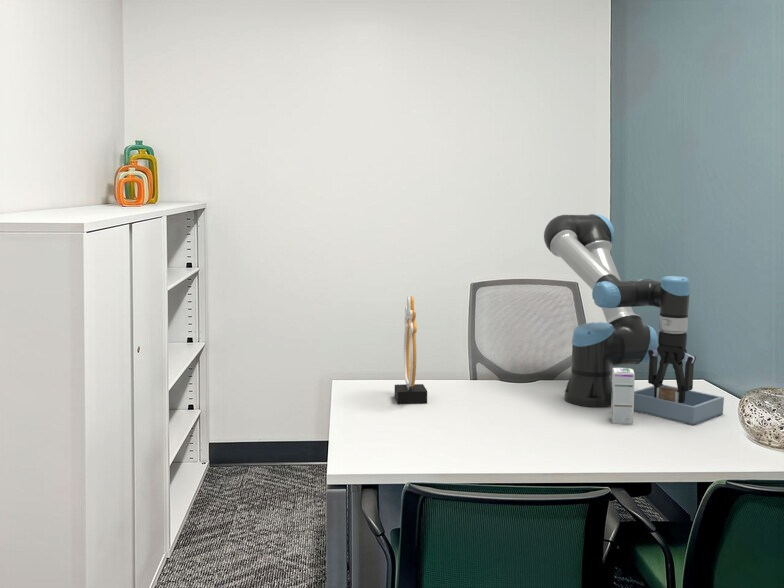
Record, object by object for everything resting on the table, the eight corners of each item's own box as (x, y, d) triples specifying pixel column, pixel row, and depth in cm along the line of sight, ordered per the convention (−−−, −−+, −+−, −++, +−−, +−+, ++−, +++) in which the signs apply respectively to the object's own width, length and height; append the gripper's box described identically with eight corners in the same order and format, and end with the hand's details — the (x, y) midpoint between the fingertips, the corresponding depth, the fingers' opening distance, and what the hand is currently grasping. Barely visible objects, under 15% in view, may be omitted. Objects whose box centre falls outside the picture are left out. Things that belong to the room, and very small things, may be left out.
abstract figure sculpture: (429, 407, 226) (430, 300, 222) (399, 407, 225) (400, 300, 221) (421, 392, 243) (422, 292, 238) (393, 393, 242) (394, 292, 238)
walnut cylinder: (655, 412, 221) (656, 388, 220) (665, 409, 224) (666, 385, 224) (671, 416, 217) (673, 392, 217) (680, 413, 221) (682, 389, 220)
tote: (628, 409, 226) (629, 392, 225) (659, 399, 237) (660, 383, 236) (693, 425, 211) (694, 407, 210) (722, 414, 222) (723, 397, 221)
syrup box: (633, 424, 211) (636, 372, 209) (611, 423, 212) (613, 371, 210) (631, 418, 217) (634, 368, 215) (609, 417, 218) (612, 366, 216)
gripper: (637, 328, 222) (633, 407, 225) (696, 337, 209) (691, 420, 212) (651, 325, 227) (647, 402, 230) (710, 334, 214) (705, 415, 217)
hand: (668, 411), depth 221 cm, fingers closed on walnut cylinder, 5 cm apart
